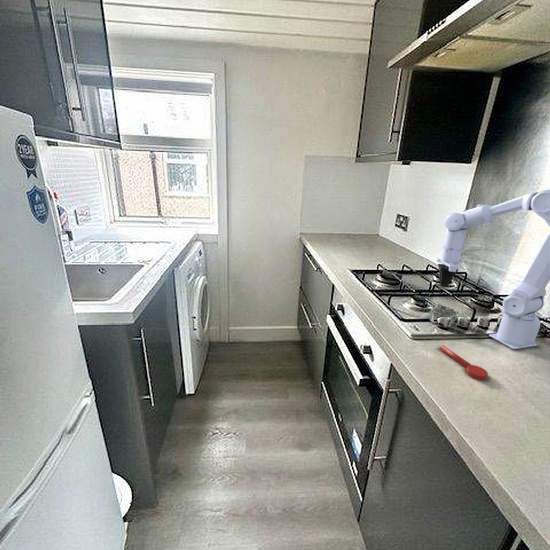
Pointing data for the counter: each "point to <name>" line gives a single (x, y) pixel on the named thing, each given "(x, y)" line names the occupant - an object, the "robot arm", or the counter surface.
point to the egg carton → (443, 314)
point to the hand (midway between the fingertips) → (443, 285)
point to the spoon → (467, 365)
